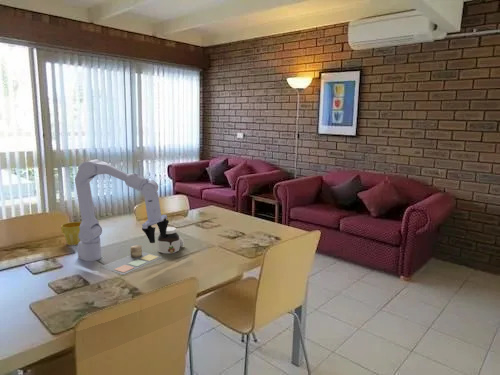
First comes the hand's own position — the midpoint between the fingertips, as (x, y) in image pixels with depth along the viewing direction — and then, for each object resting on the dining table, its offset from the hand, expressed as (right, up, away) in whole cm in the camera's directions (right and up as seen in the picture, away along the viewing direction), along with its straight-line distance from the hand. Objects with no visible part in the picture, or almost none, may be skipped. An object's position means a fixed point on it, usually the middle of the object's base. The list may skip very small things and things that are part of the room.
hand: (158, 239), depth 152 cm
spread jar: (+2, -8, +14) cm, 17 cm away
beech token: (-11, -8, +5) cm, 14 cm away
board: (-10, -10, -2) cm, 15 cm away
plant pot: (-48, -5, +23) cm, 53 cm away
